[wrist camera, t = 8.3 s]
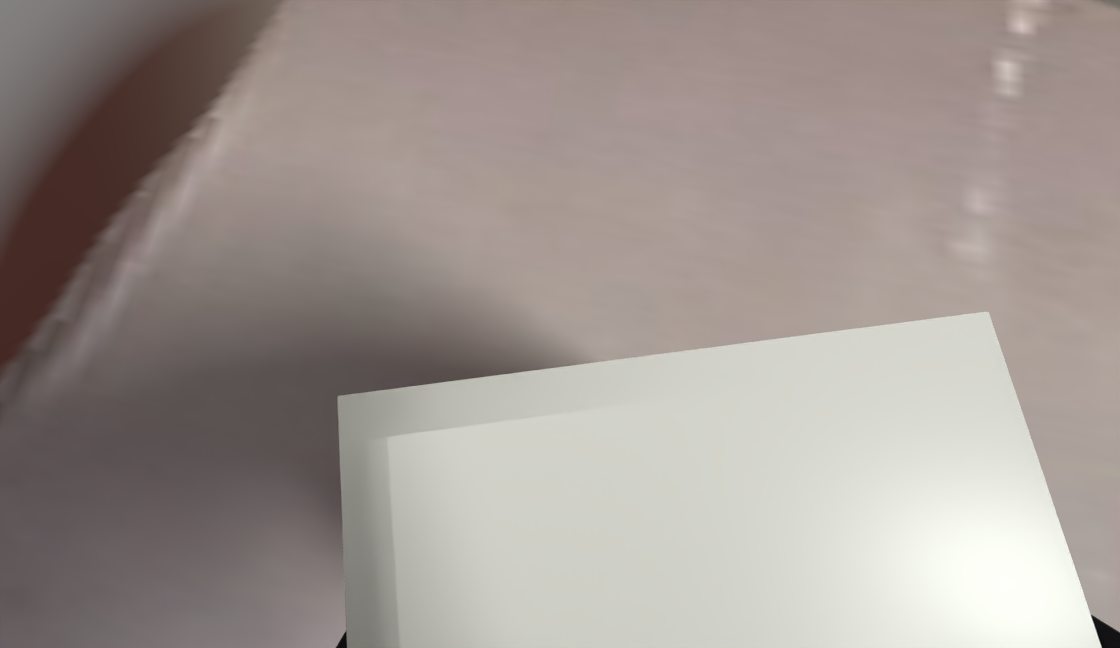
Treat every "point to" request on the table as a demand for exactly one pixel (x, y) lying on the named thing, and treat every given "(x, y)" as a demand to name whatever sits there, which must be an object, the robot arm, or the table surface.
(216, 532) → the table surface
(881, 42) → the table surface
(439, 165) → the table surface
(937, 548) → the white chamfered pillar
